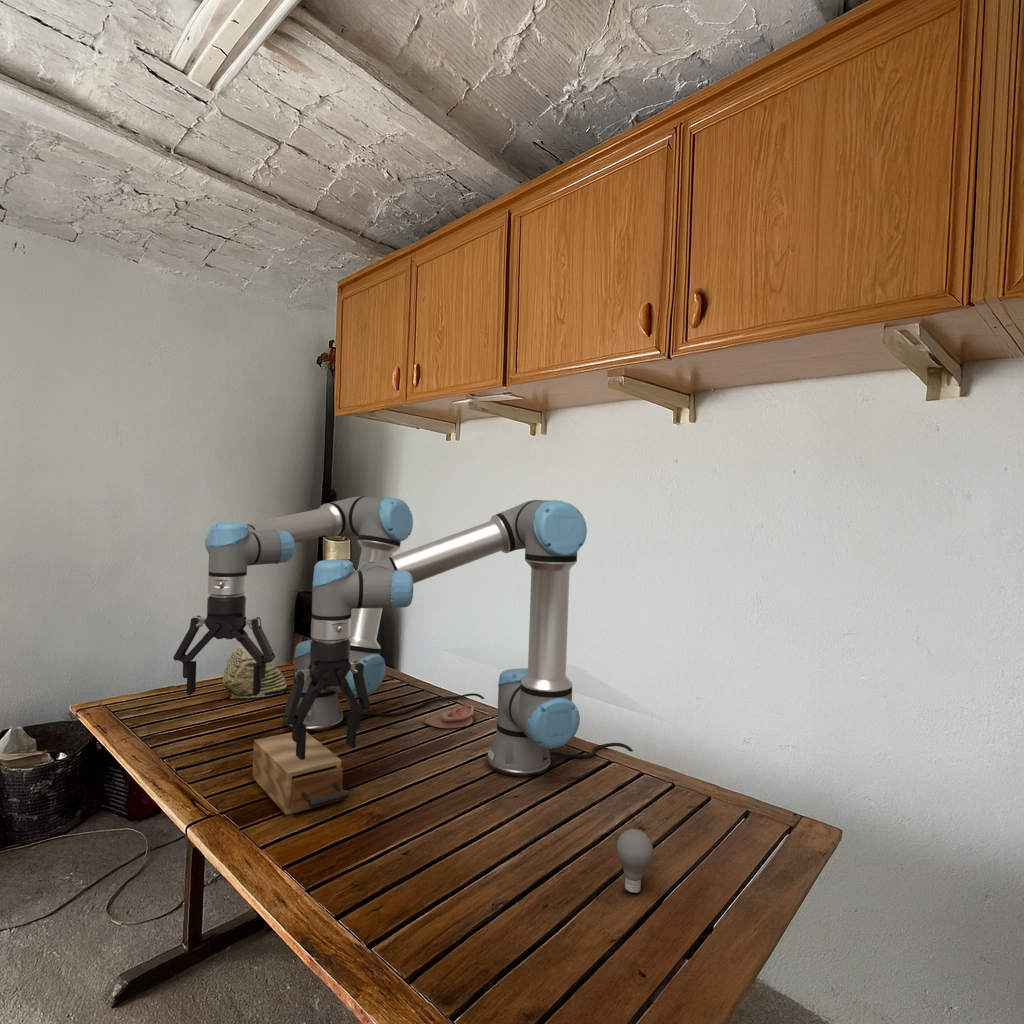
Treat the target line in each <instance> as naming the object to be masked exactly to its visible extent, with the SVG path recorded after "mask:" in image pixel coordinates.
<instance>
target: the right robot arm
mask: <svg viewBox="0 0 1024 1024" xmlns="http://www.w3.org/2000/svg"><path fill="white" fill-rule="evenodd" d="M587 533H588V528H587V522H586V519H585V517H584V515H583V514H582V512H581V511H580V510H579V509H578V508H577V507H576V506H574V505H573V504H572V503H570V502H566V501H563V500H557V499H552V500H551V499H549V500H547V499H545V500H543V499H532V500H528V501H525V502H523V503H521V504H518V505H515V506H513V507H511V508H508V509H506V510H504V511H501V512H499V513H496V514H493V515H491V518H490V520H489V521H486V522H483V523H480V524H478V525H475V526H473V527H469V528H466V529H464V530H461V531H458V532H456V533H453V534H451V535H448V536H445V537H442V538H438V539H437V540H434V541H431V542H428V543H426V544H422V545H419V546H418V547H414V548H412V549H411V548H410V549H408V550H406V551H402V552H400V553H397V554H395V555H394V554H393V556H392V557H390V558H386V559H383V560H381V561H378V562H368V563H365V564H363V565H361V566H360V567H359V568H358V567H357V569H356V570H355V568H354V563H353V562H352V561H350V560H346V559H345V560H344V559H325V560H319V561H317V562H316V563H315V565H314V567H313V576H312V577H313V579H312V590H311V591H312V592H311V593H312V594H311V595H312V596H311V622H310V623H311V624H310V638H311V640H312V641H311V646H310V665H309V667H308V669H304V670H298V669H296V670H294V669H293V671H292V681H293V682H292V685H291V688H290V691H289V695H288V698H287V702H286V704H285V708H284V712H283V715H282V721H283V722H284V723H285V724H286V723H287V724H289V725H292V729H291V732H292V739H293V741H294V742H296V756H297V757H298V758H299V759H300V760H304V759H305V748H306V725H305V724H304V723H303V722H304V720H305V718H306V716H307V714H308V712H309V710H310V708H311V706H312V705H313V703H314V701H315V699H316V697H317V695H318V694H319V693H320V692H321V690H322V688H328V687H330V686H339V688H340V690H341V692H342V693H343V694H342V693H341V694H342V695H343V697H344V699H345V701H346V703H347V704H348V707H349V708H350V710H351V711H346V712H347V715H346V738H345V739H346V740H345V741H346V742H345V745H347V746H349V747H350V748H351V749H355V748H356V745H357V730H360V728H361V716H363V715H362V714H363V712H365V710H366V711H367V710H369V709H370V708H371V704H370V703H371V702H370V700H369V696H368V694H367V690H366V686H365V681H364V677H363V671H364V664H362V663H360V662H358V661H355V662H354V663H350V662H349V656H350V641H349V639H347V638H349V637H350V631H351V610H352V609H354V608H356V609H360V608H382V609H393V610H396V609H398V608H401V609H402V608H408V607H409V606H411V604H412V602H413V599H414V584H416V583H417V584H418V583H420V582H421V581H426V580H427V579H430V578H433V577H435V576H438V575H440V574H444V573H446V572H449V571H451V570H454V569H457V568H459V567H462V566H464V565H466V564H470V563H473V562H476V561H478V560H481V559H483V558H486V557H489V556H491V555H495V554H497V553H499V552H502V553H503V554H508V553H511V552H514V551H518V550H524V561H525V563H527V564H528V566H529V567H530V568H531V569H530V596H529V600H530V601H529V622H528V623H529V625H528V626H529V627H528V628H529V629H528V654H527V655H528V656H527V657H528V658H527V668H526V667H525V668H524V667H523V668H509V669H505V670H503V671H501V672H500V674H499V676H498V677H499V678H498V684H497V688H498V689H497V690H498V693H497V717H496V719H497V720H496V732H495V735H494V737H493V741H492V743H491V746H490V748H489V749H488V752H487V765H488V766H489V767H490V769H492V770H494V771H495V772H497V773H499V774H502V775H505V776H506V775H507V776H510V777H521V778H522V777H525V778H526V777H534V776H539V775H541V774H544V773H546V772H548V771H549V769H550V767H551V756H556V757H557V756H558V757H563V758H572V759H587V758H591V757H593V756H594V755H595V754H596V752H597V750H600V749H605V748H610V747H611V748H612V747H619V748H624V749H625V750H627V751H628V752H633V751H634V750H633V749H632V748H631V747H630V746H629V745H627V744H625V743H623V742H609V743H603V744H598V745H595V746H594V747H593V748H592V749H591V752H589V753H585V754H581V753H580V754H579V753H578V754H577V753H565V752H560V751H553V750H555V749H559V748H561V747H563V746H565V745H567V744H568V743H569V742H570V740H571V739H573V738H574V737H575V735H576V734H577V732H578V730H579V727H580V722H581V717H580V712H579V709H578V707H577V705H576V703H574V702H573V682H572V681H571V680H570V679H569V677H568V676H567V656H568V653H567V652H568V630H569V629H568V628H569V627H568V625H569V602H570V601H569V599H570V598H569V597H570V575H571V574H570V573H571V568H573V566H575V565H576V564H577V563H578V551H579V550H580V549H581V547H582V546H583V545H584V544H585V541H586V538H587ZM350 669H351V672H352V673H353V679H354V683H355V688H356V692H357V697H355V696H354V694H353V692H352V691H351V689H350V687H349V683H348V682H347V680H346V678H345V676H346V675H347V673H348V672H349V670H350ZM308 675H310V677H311V678H312V680H311V682H310V684H309V686H308V690H307V692H306V693H305V695H304V697H303V699H302V701H301V703H300V705H299V706H298V704H299V701H300V697H301V694H302V691H303V687H304V681H306V680H307V676H308Z"/></svg>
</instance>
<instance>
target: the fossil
mask: <svg viewBox="0 0 1024 1024" xmlns="http://www.w3.org/2000/svg"><path fill="white" fill-rule="evenodd" d="M258 649H259V650H260V651H261V652H262V650H261V648H260V647H258ZM262 653H263V652H262ZM263 655H264V654H263ZM256 663H257V662H256V661H255V660H254V659H253V657H252V656H251V655H250V654H249V653H248V651H247V650H246V649H245V648H244V647H243V646H238V647H237V648H236V649H235V650H233V651H232V653H231V656H230V657H229V659H228V660H227V663H226V666H225V668H224V671H223V675H222V676H223V677H222V685H223V687H224V688H225V690H226V691H228V693H229V698H230V699H250V698H264V697H271V696H275V695H281V694H284V693H285V691H286V689H287V687H288V686H287V680H286V678H285V676H284V674H283V673H282V672H281V669H279V668H278V667H277V665H276V663H275V662H274V659H273V660H272V661H271V662H268V663H266V675H265V677H264V678H263V679H261V687H260V693H259V694H258V695H257V696H253V673H254V665H255V664H256Z"/></svg>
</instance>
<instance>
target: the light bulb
mask: <svg viewBox="0 0 1024 1024" xmlns="http://www.w3.org/2000/svg"><path fill="white" fill-rule="evenodd" d="M615 849H616V854H617V857H618V859H619V861H620V863H621V865H622V867H623V873H624V874H623V875H624V876H625V878H624V888H625V890H627V891H628V892H630V893H634V894H635V893H639V892H640V891H641V889H642V887H641V886H642V879H643V877H644V875H645V871H646V868H647V867H648V866H649V864H650V863H651V861H652V859H653V855H654V847H653V843H652V841H651V838H649V836H648V835H647V834H646V833H645V832H643V831H642V830H641V829H636V828H629V829H627V830H625V831H623V832H622V833H621V834H620V835H619V837H618V839H617V841H616V847H615Z"/></svg>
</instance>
